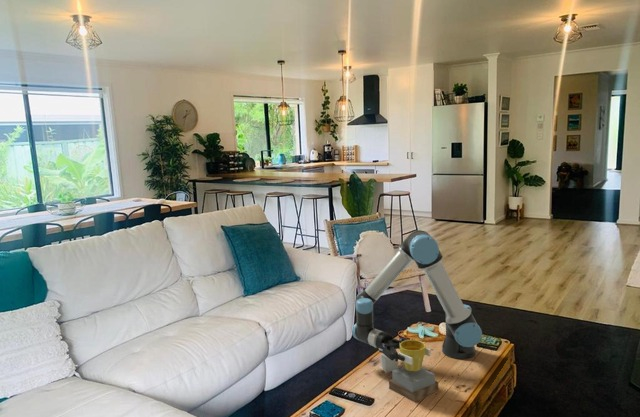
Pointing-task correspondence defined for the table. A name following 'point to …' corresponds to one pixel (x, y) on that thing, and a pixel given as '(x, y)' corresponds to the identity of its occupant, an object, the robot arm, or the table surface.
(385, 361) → the matte white cube
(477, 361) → the table surface
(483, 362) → the table surface
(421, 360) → the plant pot
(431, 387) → the walnut base slab
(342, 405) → the table surface
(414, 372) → the gray square slab
